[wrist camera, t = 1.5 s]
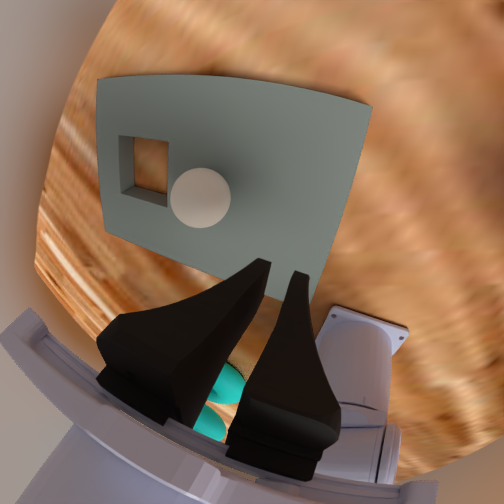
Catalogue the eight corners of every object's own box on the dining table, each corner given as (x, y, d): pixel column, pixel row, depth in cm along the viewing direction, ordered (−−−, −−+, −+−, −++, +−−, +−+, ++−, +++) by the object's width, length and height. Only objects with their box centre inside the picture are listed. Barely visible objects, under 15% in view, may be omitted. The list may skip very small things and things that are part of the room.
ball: (236, 220, 20) (210, 247, 17) (189, 205, 21) (158, 228, 18) (243, 168, 18) (215, 186, 15) (192, 156, 19) (157, 172, 16)
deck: (312, 295, 24) (307, 310, 22) (117, 223, 28) (105, 231, 27) (371, 106, 14) (372, 106, 13) (113, 77, 19) (97, 79, 18)
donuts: (198, 419, 25) (231, 452, 29) (235, 353, 33) (258, 396, 37) (137, 397, 29) (174, 433, 33) (176, 345, 37) (203, 386, 41)
